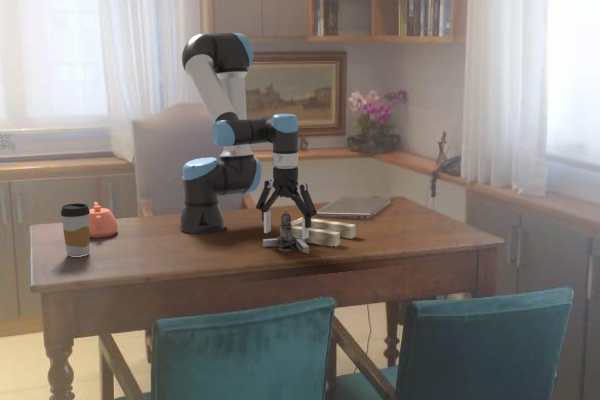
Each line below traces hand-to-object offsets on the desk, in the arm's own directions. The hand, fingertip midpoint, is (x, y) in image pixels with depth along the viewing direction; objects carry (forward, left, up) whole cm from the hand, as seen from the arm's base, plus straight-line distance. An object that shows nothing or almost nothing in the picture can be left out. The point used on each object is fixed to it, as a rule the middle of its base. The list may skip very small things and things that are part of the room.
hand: (286, 235), depth 226 cm
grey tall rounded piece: (0, 0, -5) cm, 5 cm away
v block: (0, +3, -4) cm, 5 cm away
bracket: (+2, +16, -4) cm, 17 cm away
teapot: (-64, -15, -5) cm, 66 cm away
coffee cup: (-51, -36, -5) cm, 63 cm away
